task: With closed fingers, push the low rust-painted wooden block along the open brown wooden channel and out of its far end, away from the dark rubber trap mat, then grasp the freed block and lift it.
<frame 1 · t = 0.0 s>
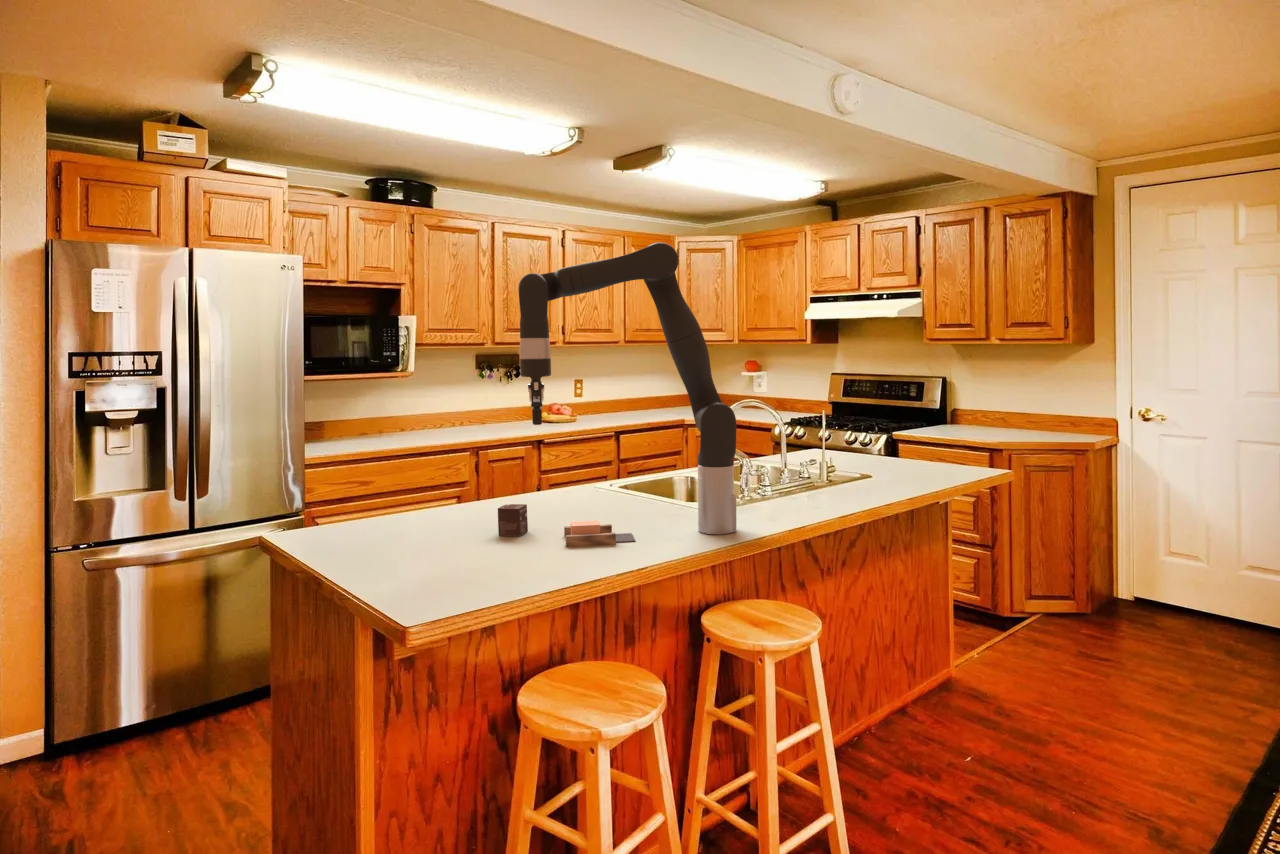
hand: (537, 423, 186), 29 cm above the countertop, fingers open, 8 cm apart
box: (513, 534, 196), on the countertop
trap mat: (623, 538, 189), on the countertop
block: (585, 541, 188), on the countertop
brown wooden channel: (589, 540, 188), on the countertop
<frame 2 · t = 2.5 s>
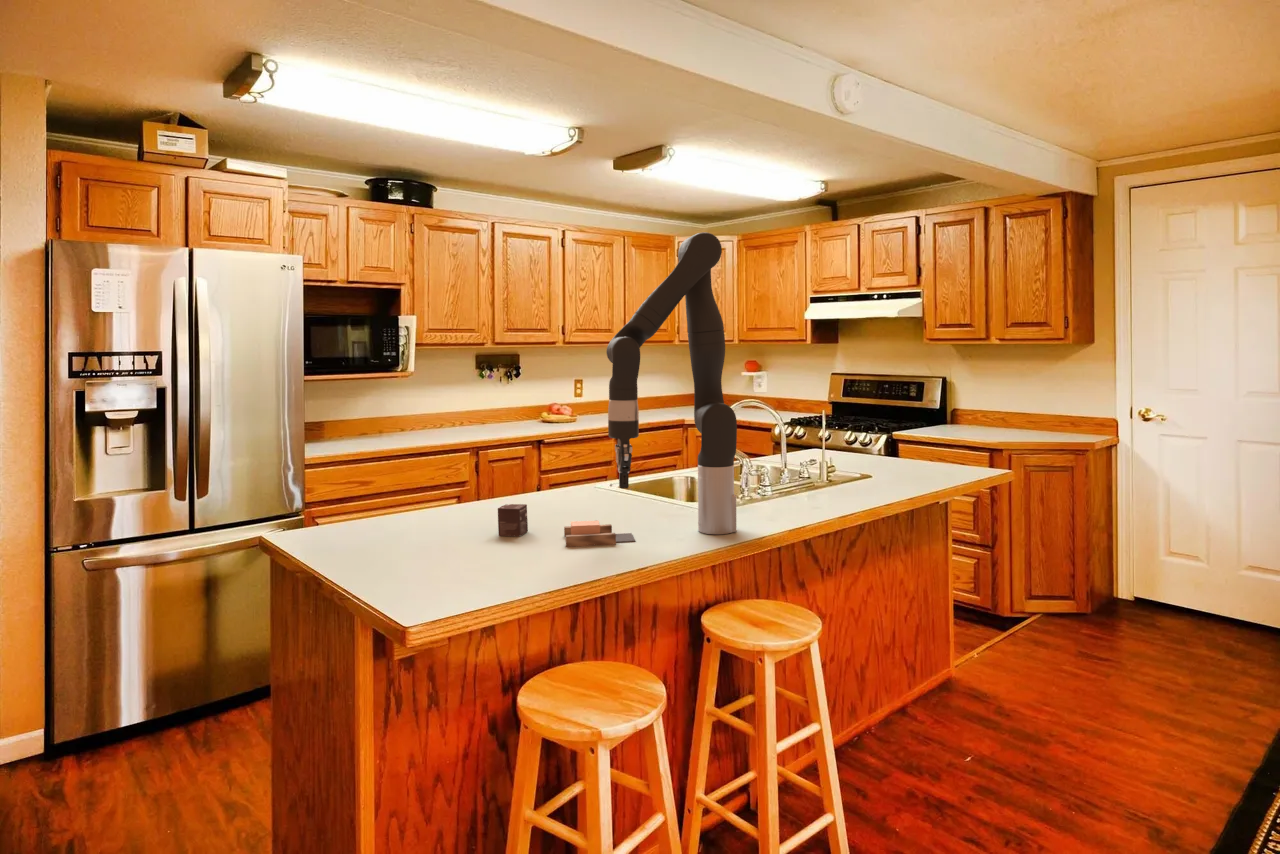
hand: (623, 487, 188), 13 cm above the countertop, fingers closed
nothing on the countertop moved.
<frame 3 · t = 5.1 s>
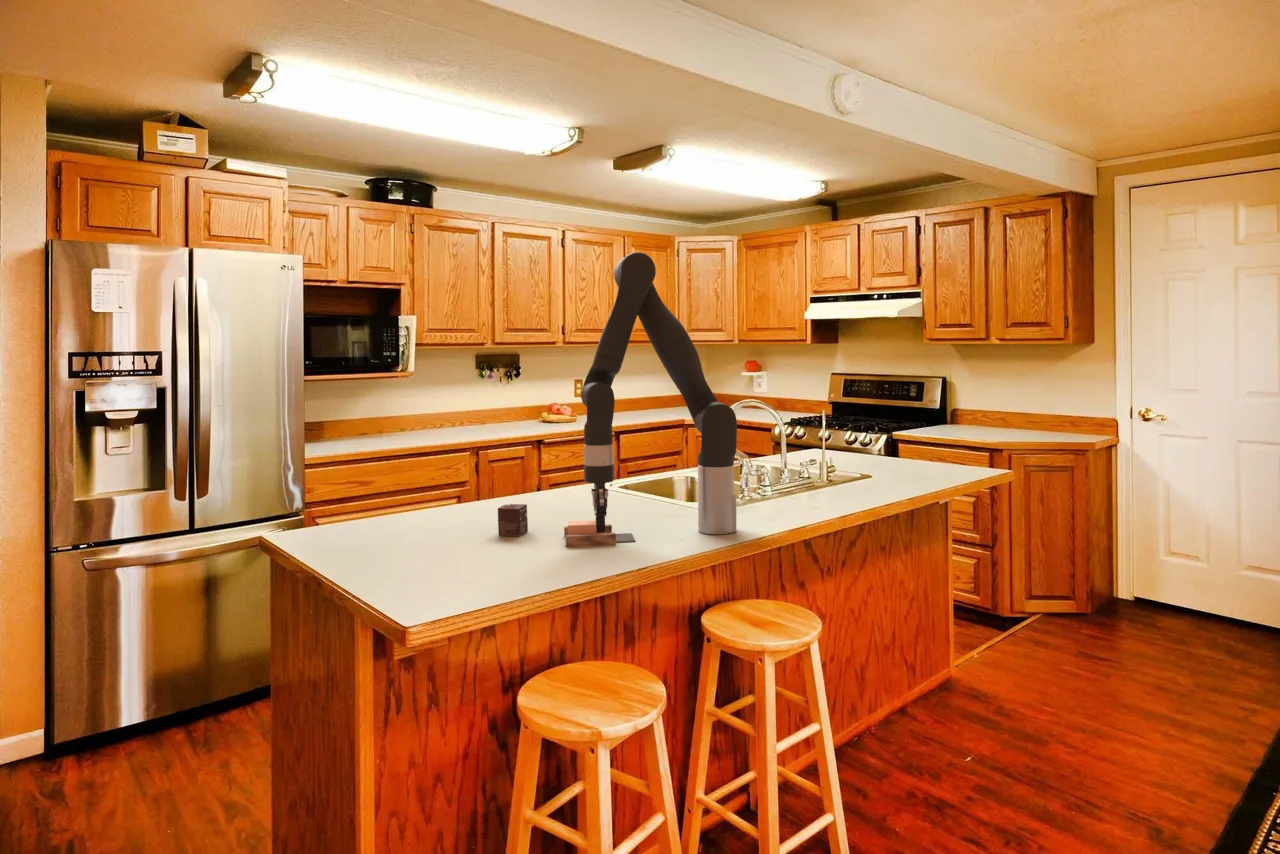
hand: (600, 531, 188), 2 cm above the countertop, fingers closed
block: (582, 540, 188), on the countertop, touching gripper
everything else where it was.
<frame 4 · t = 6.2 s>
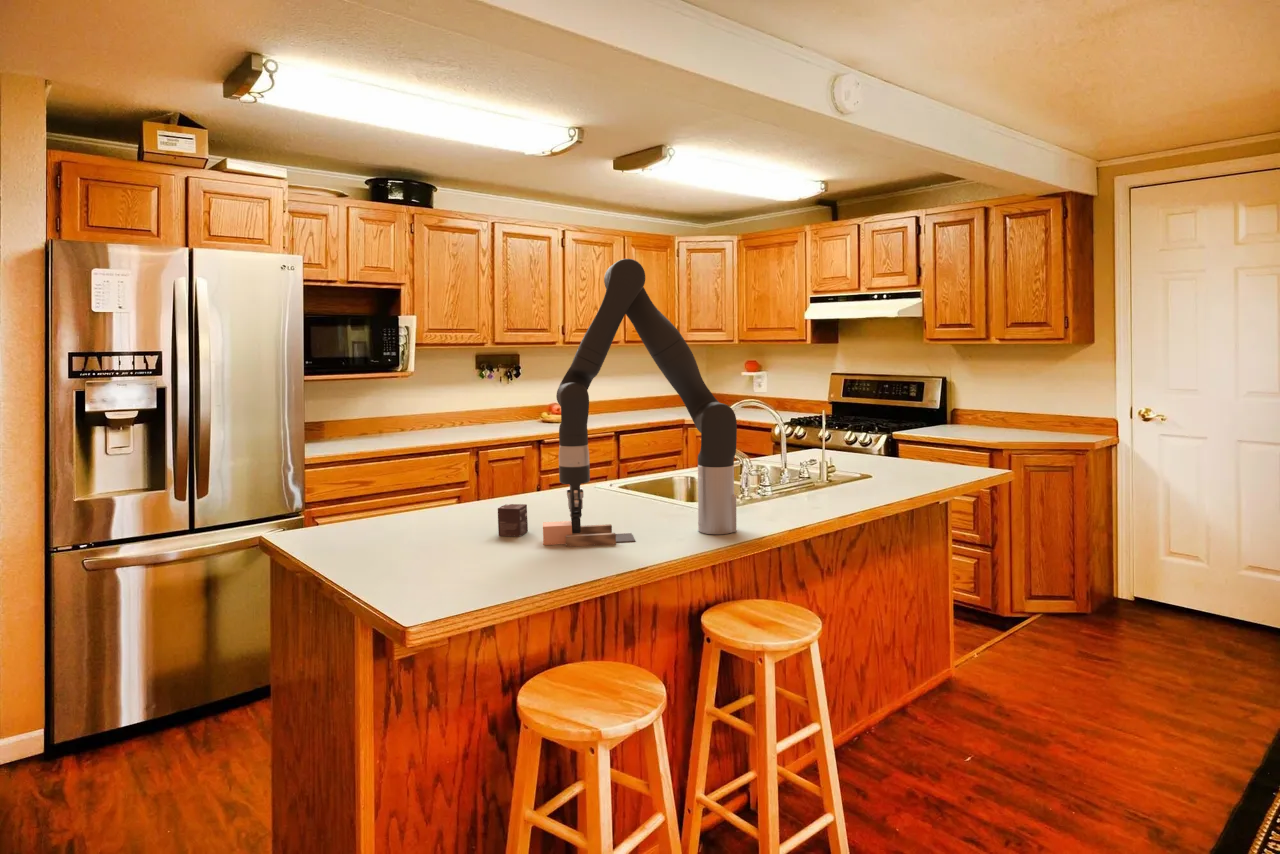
hand: (576, 532, 187), 2 cm above the countertop, fingers closed
block: (557, 541, 187), on the countertop, touching gripper
everything else where it was.
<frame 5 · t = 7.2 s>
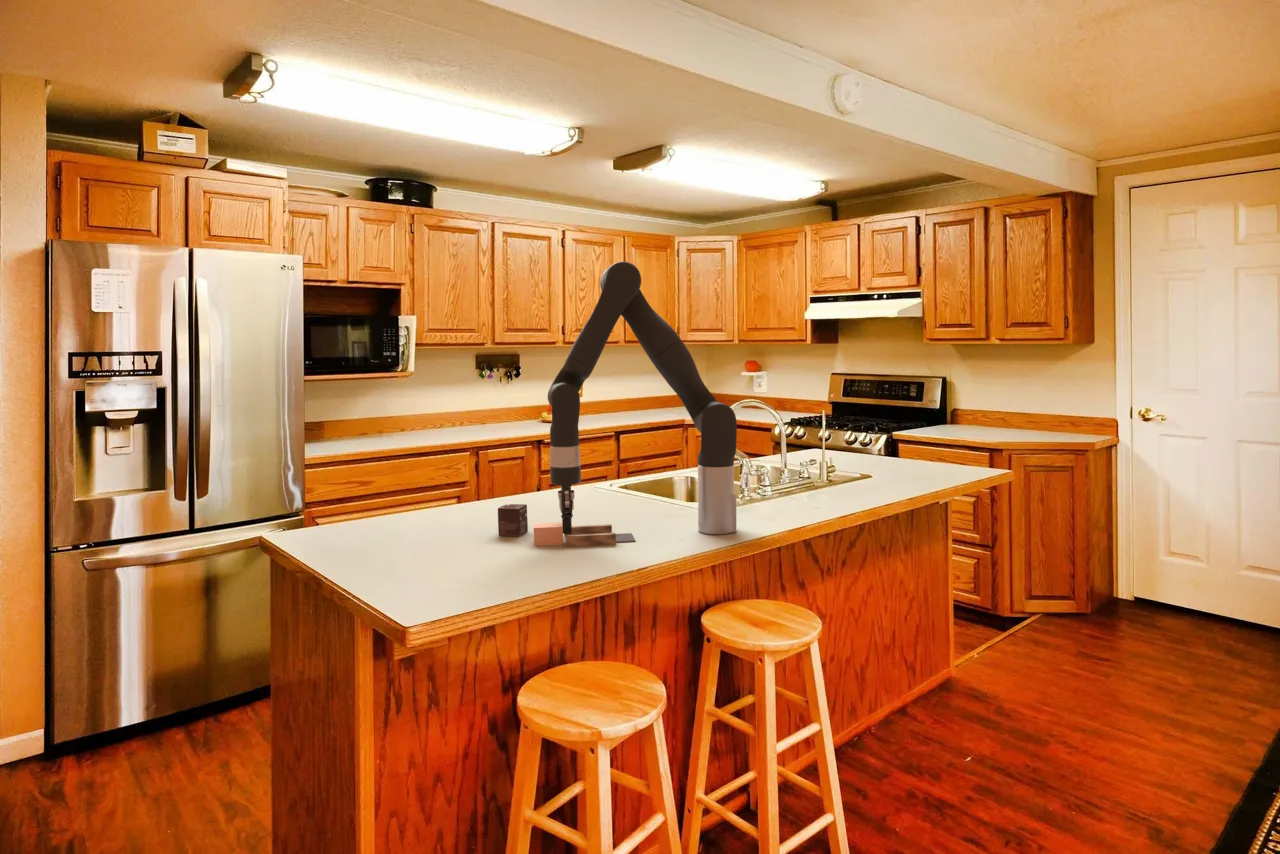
hand: (567, 533, 187), 2 cm above the countertop, fingers closed
block: (548, 543, 187), on the countertop
everything else where it was.
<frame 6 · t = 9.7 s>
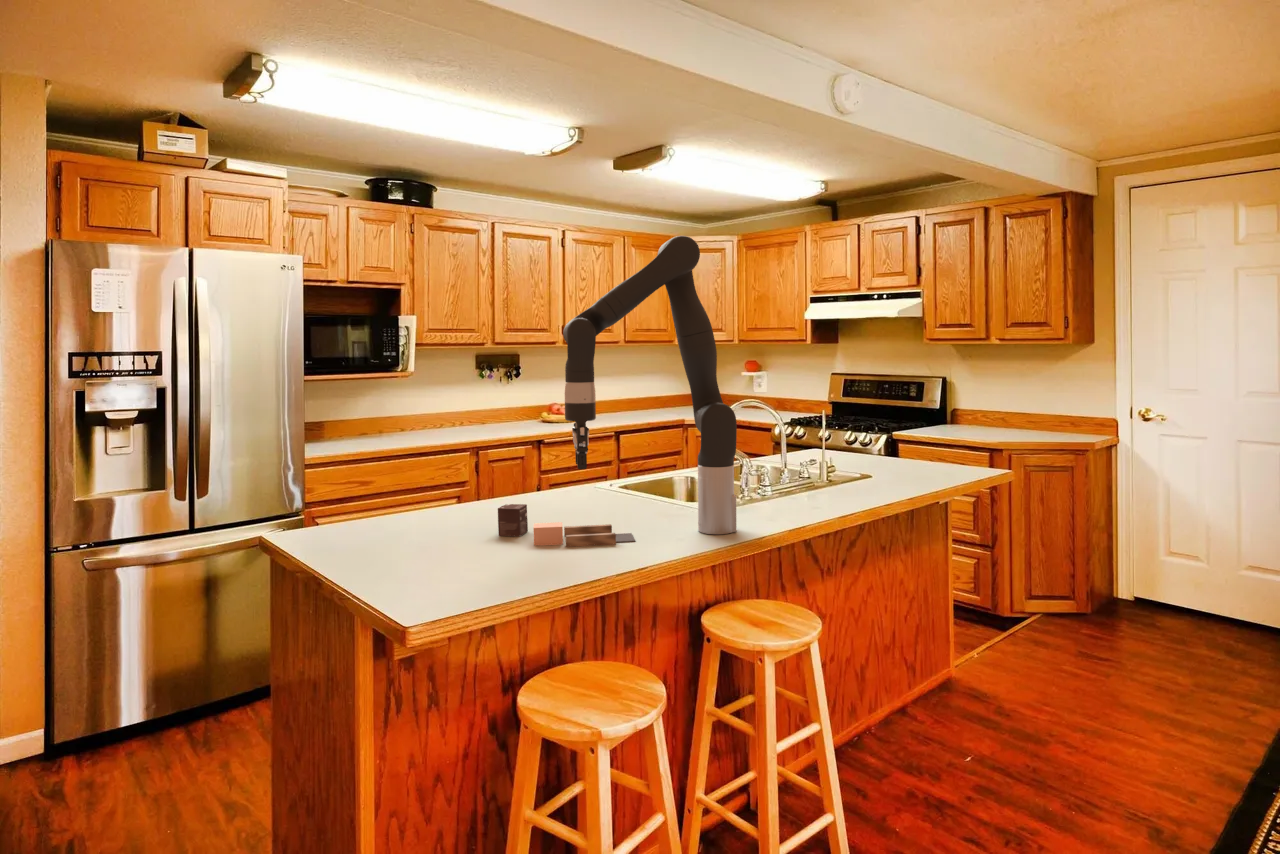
hand: (581, 466, 186), 18 cm above the countertop, fingers open, 8 cm apart
nothing on the countertop moved.
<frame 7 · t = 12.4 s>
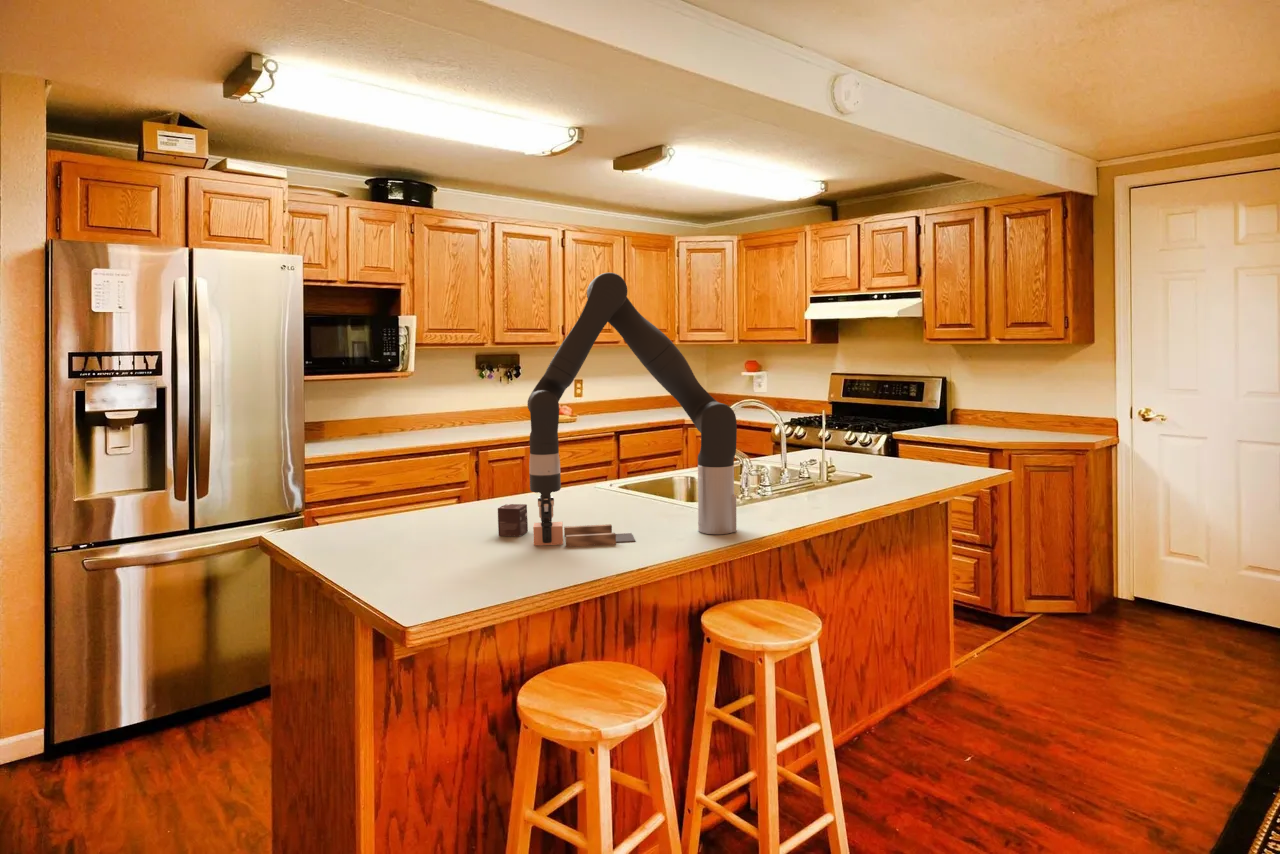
hand: (546, 539, 187), 1 cm above the countertop, fingers closed on block, 5 cm apart
block: (548, 542, 187), on the countertop, touching gripper
everything else where it was.
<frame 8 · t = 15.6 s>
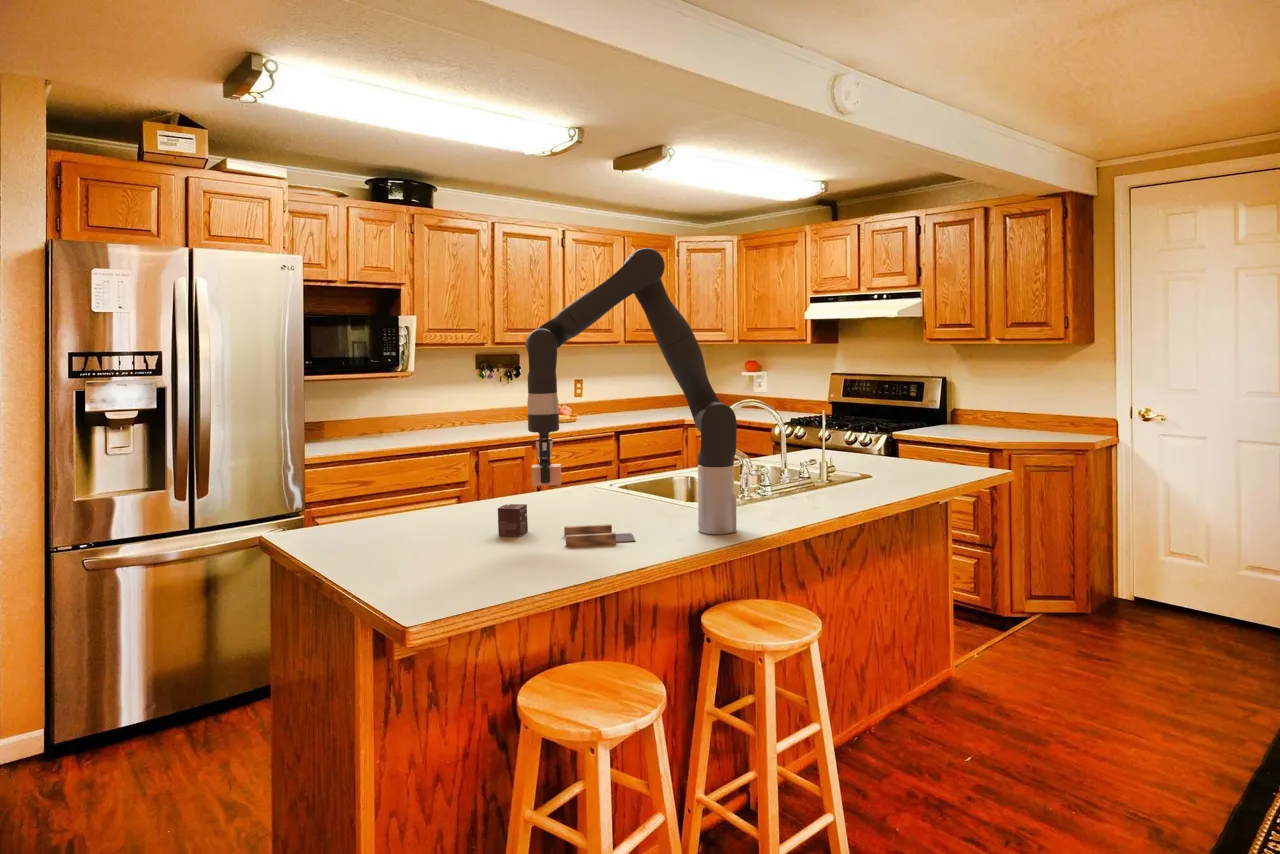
hand: (545, 480, 185), 15 cm above the countertop, fingers closed on block, 5 cm apart
block: (546, 483, 185), point 15 cm above the countertop, touching gripper
everything else where it was.
at the end: the gripper is holding block; block point 14.6 cm above the countertop; block inside the target area (3.9 cm from its centre), point 14.6 cm above the countertop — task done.
